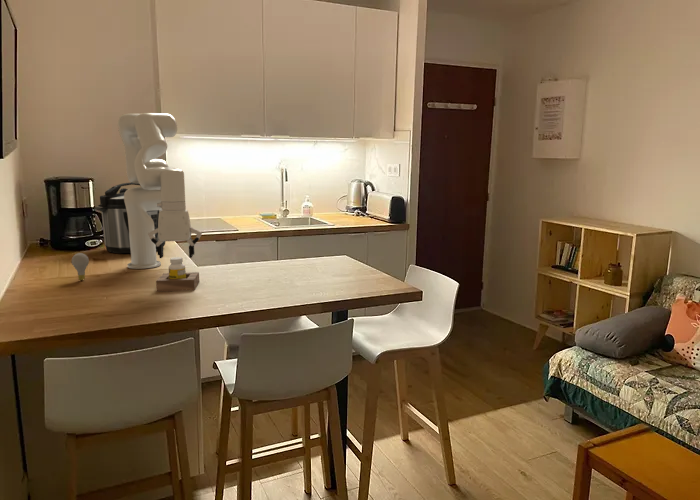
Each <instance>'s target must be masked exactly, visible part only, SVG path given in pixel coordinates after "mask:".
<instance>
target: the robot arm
mask: <svg viewBox="0 0 700 500" xmlns="http://www.w3.org/2000/svg"><path fill="white" fill-rule="evenodd" d="M117 128H118V132H119V136H120V139H121V141H122V144H123V147H124V155H125V171H126V178H127V180H128V182H129V183H138V184H140V185H139V186H135V187H130V188H127V189H128V190H126V192H125V193H124V202H125V206H126V210H127V215H128V224H129V237H130V250H131V253H130V260H131V261H130V262H129V263H128V264H127V268H129V269H133V270H140V269H141V270H143V269H153V268H158V267H160V266H161V265H162V263H161V261H159V260H157V256H158V258H159V259H163V258H164V247H163V245H162V242H163V241H165V242H187V244H189V246H188V258H191V259H192V258H193V257H194V256H195V244H197V243H198V241H200V239H201V236H202V234H203V232H202V231H200V230H198V229H196V228H194V227H192V226H191V219H190V214H189V210H188V209H187V207H186V187H185V185H186V184H185V173H184V170H183V169H180V168H178V167H175V166H169V165H168V162H167V161H166V160H164V159H162V158H161V159H160V158H159V157H162V156H163V155H164V154H165V153H166V152H167V150H168V144H167V141H166V138H173V137H175V136H176V135H177V133H178V132H177V131H178V124H177V121H176V118H175V117H174V116H173V115H172V114H170V113H164V112H163V113H159V112H144V113H124V114H122V115H120V116H119V118H118V119H117ZM155 210H161V211H159V219H158V228H157V229H155V230H154V222H153V220H152V218H151V217H150V216H149V215H148V214H147V213H146V212H147V211H155ZM156 233H158V238H159V241H158V240H157V239H156V238H155V234H156ZM192 233H193V234H195V235H196V236H195V238H194V239H192ZM156 246H157V250H156Z"/></svg>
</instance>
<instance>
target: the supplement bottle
mask: <svg viewBox="0 0 700 500" xmlns="http://www.w3.org/2000/svg"><path fill="white" fill-rule="evenodd" d="M169 261H170V262H169V263H170V264H169V265H168V273H169V279H184V278H186V273H187V272H186V265H185V264H184V263H183V262H184V261H183V257H181V256H180V257H179V256H175V257H171V258H170V259H169Z"/></svg>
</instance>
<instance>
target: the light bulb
mask: <svg viewBox="0 0 700 500" xmlns="http://www.w3.org/2000/svg"><path fill="white" fill-rule="evenodd" d="M89 263H90V261H89V256H88V255H87V254H86V253H82V252H77V253H75V254H74V255H73V256H72V257H71V265H72V266H73V267H74V269H75V270H76V271H77V275H78V276H77V277H78V280H79V281H81V280H83V279H84V280H85V279H86V269H87V267H88V266H89ZM84 280H83V281H84Z"/></svg>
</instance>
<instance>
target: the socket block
mask: <svg viewBox="0 0 700 500" xmlns="http://www.w3.org/2000/svg"><path fill="white" fill-rule="evenodd" d="M199 284H200V272H199V271H197V272H196V271H195V272H186V278H184V279H169V272H167V273H166V272H165V273H162V274H161V275H160V276H159V277H158V278H157V279H156V280H155V285H156V293H157V292H159V293H160V292H178V291H179V292H181V291H182V292H184V291H195V290H196V289H197V287H198V285H199Z"/></svg>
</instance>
